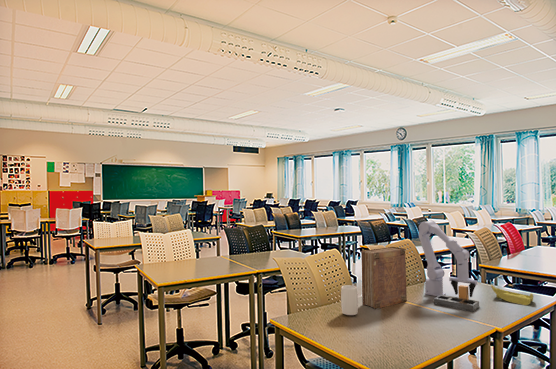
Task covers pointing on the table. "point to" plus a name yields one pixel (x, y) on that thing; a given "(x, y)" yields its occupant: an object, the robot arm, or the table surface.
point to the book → (383, 277)
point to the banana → (513, 296)
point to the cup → (349, 300)
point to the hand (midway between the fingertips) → (463, 295)
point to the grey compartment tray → (456, 302)
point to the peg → (463, 292)
